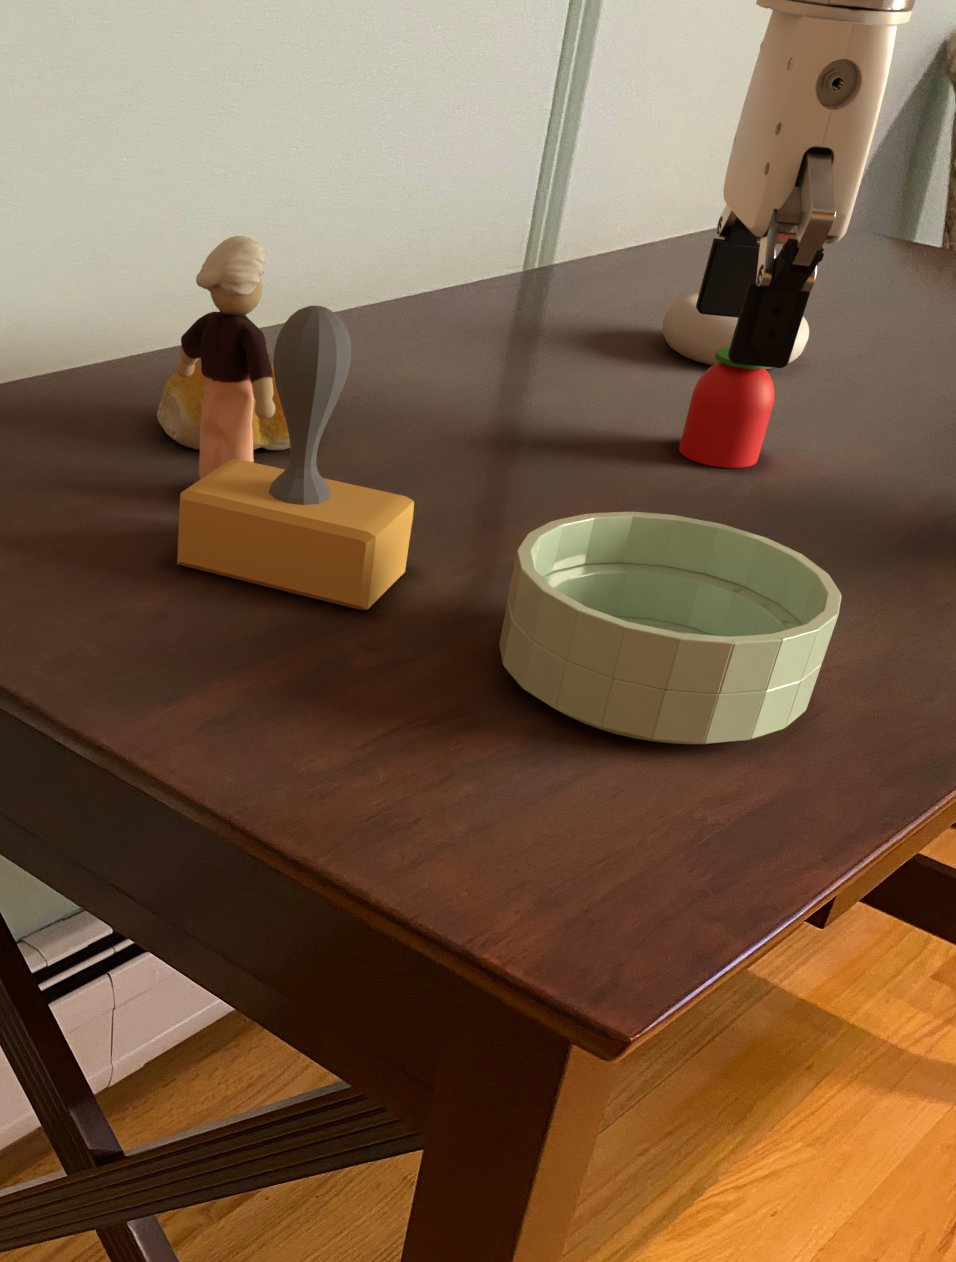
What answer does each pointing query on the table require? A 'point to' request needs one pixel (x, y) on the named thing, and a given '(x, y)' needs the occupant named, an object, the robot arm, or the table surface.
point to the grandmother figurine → (229, 354)
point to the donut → (708, 332)
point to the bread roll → (185, 408)
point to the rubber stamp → (299, 493)
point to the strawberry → (728, 414)
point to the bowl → (667, 626)
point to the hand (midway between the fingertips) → (738, 338)
